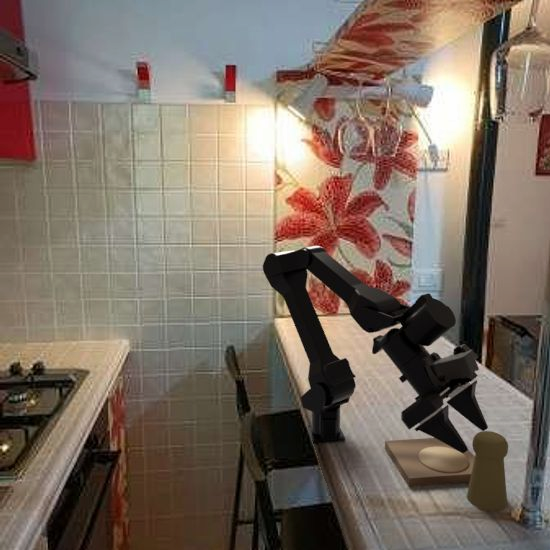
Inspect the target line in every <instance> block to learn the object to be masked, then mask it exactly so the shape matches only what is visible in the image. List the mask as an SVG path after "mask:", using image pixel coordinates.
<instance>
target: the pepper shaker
mask: <svg viewBox="0 0 550 550" xmlns="http://www.w3.org/2000/svg"><path fill="white" fill-rule="evenodd" d="M471 445H472V449H473V452H474V453H475V455H474V456H475V459H474V464H473V469H472V473H471V478H470V482H468V483H469V484H468V489H467V492H466V499H467V501H468V502H469V503H470V504H471V505H472V506H474V507H475V508H478V509H481V510H485V511H490V512H497V511H502V510H504V509H505V508H507V506H508V498H507V497H508V496H507V485H506V484H507V483H506V481H507V480H506V470H505V460H504V458H505V457H507V455H508V452H509V444H508V441H507V439H506V438H505V437H504V436H503V435H501V434H500V433H498V432H494V431H490V430H489V431H487V430H484V431H482V430H481V431H480V432H477V433H476V434H474V436H473V439H472V444H471Z"/></svg>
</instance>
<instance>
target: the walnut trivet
mask: <svg viewBox="0 0 550 550" xmlns="http://www.w3.org/2000/svg"><path fill="white" fill-rule="evenodd" d="M384 449H385V451H386V452H387V454H388V456H389V457H390V459H391V461H392V462H393V464H394V465H395V467H396V469H397V470H398V472H399V473H400V475H401V477H402V478H403V480H404V482H405V483H406V484H407V486H408V487H411V488H412V487H423V486H435V485H437V486H438V485H449V484H464V483H470V478H471V473H472V469H473V464H474V459H475V455H474V454H473V452H471V451H470V450H469V449H468V450H467V451H466V452H465V453H461V452H459V451H458V450H456V449H454V448H452V447H450V446H449V445H447V444H445V443H443V442H442V441H440V440H438V439H436V438H434V437H426V438H425V437H424V438H413V439H412V438H411V439H410V438H409V439H408V438H407V439H395V440H393V439H392V440H385V441H384Z"/></svg>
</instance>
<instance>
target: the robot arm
mask: <svg viewBox="0 0 550 550" xmlns="http://www.w3.org/2000/svg"><path fill="white" fill-rule="evenodd" d="M262 271H263V274H264V276H265V278H266V279H267V280H266V281H268V283H269V285H270V287H271V288H272V289H273V290H275V291H276V292H277V293H278V294H279V295H281V296H282V298H283V299H284V302H285V305H286V308H287V309H288V312H289V314H290V316H291V319H292V322H293V324H294V326H295V329H296V331H297V334H298V337H299V338H300V339H299V340H300V342H301V344H302V347H303V348H304V352H305V354H306V357H307V359H308V362H309V368H308V376H307V380H308V384H309V387H310V388H309V389H308V390H307V391H306V392H305V393H303V394H302V395H301V397H300V402H301V404H302V405H301V406H302V408H303V409H305V410H307V411H310V412H311V415H310V416H311V424H309V425H307V427H306V428H307V431H308V433H309V436H310V439H311V442H313V443H323V442H325V443H326V442H337V441H338V442H339V441H346V436H345V434H344V433H343V431H342V428H341V406H342V405H345V404H347V403H349V402H350V399H351V397H352V396H353V395H354V393H355V388H356V382H355V378H356V375H355V373H354V372H353V370H352V369H351V366H350V362H349V359H348V358H346V357H344V358H341V359H340V358H339V357H338V356H337V355H336V354H334V352H333V350H332V348H331V347H332V346H331V344H330V342H329V339H328V338H327V336H326V332H325V331H324V328H323V325H322V323H321V321H320V318H319V317H318V313H317V311H316V309H315V306H314V304H313V302H312V299H311V296H310V294H309V292H308V289H307V282H308V276H309V275H308V272H309V273H310V274H312V275H313V276H314V277H315V278H317V279H318V280H319V281H320V282H321V283H322V284H323V285H324V286H326V287H327V288H328V289H329V290H330V291H331V292H333V293H334V294H335V295H336V296H337V297H338V298H340V299H341V301H343V302H344V303H345V304H346V305H347V308H348V310H349V314H350V316H351V317H352V319H353V320H354V322H356V324H357V325H358V326H359V327H360V328H361V329H362V330H363V331H364V332H366V333H378V332H380V331H384V330H387V329H389V330H388V331H387V332H385V334H384V335H381V334H379V335H376V336H375V337H373V339H372V341H373V343H372V349H371V353H372V355H376V354H379V353H380V352H381V351H383V352H384V353H385V354H386V356H387V357H388V358H389V359H390V361H392V363H393V364H394V366H395V367H396V369H397V370H398V371H399V372H400V373H401V376H400V377H398V379H399V381H400V382H401V383H402V384H403V383H405V382H406V381H407V382H408V384H409V385H410V387H412V389H413V390H414V391H415V393H416V394H417V396H416V397H415V398H414V400H415V401H414V402H413V403H411V404H410V405H408V407H406V408H404V409H403V410H401V416H400V417H401V418H400V419H401V421H402V423H403V424H404V426H405V427H406V428H407V430H408V431H409V430H411V429H413V428H414V427H415V426H416V427H415V428H414V431H416V432H418V431H420V432H421V433H423V434H426V435H428V436H430V437H431V438H436V439H438V440H440V441H442V442H443V443H445V444H447V445H449V446H450V447H452V448H454V449H456V450H458V451H459V452H461V453H465V452H466V451H467V450H469V447H468V446H467V444H466V442H465V441H464V440H463V438H462V435H461V434H460V433H459V432H458V430H457V428H456V427H455V426H454V424H453V423H452V421H451V420H450V417H449V415H450V413H449V406H450V407H452V408H453V409H454V410H455V411H457V413H458V414H460V415H461V416H462V417H464V418H465V419H466V420H467V421H469V422H470V423H471V424H472V425H474V426H475V427H477V428H478V429H479V430H481V432H482V431H487V429H489V427H488V426H489V425H488V424H487V421H486V419H485V416H484V414H483V412H482V410H481V407H480V405H479V402H478V400H477V397H476V386H477V384H478V380H477V379H476V378H477V377H479V375H478V374H477V373H476V372H478V371H479V370H480V367H479V365H478V363H477V361H476V359H478V358H479V356H478V354H477V353H476V352H475V351H474V349H473V348H472V349H471V348H470V347H468V345H467V344H466V343H464V344H460V345H457V346H456V347H454V348H453V353H452V354H449V355H448V356H445V357H441V356H440V354H439V353H438V352H435V351H433V352H431V353H430V352H429V351H428V350H427V349H426V348H425V347H429V346H431V345H433V344H434V343H435V342H437V340H439V339H440V338H441V337H442V336H444V335H445V334H446V333H447V332H448V331H450V330H451V329H453V328H454V327H455V325H456V323H457V320H456V316H455V313H454V312H453V310H452V308H450V306H449V305H447V304H445V303H444V302H442V301H441V300H440V299H437V298H434V297H433V296H432V294H431V293H429V292H428V293H425V294H424V293H423V294H421V295H420V296H419V297H418V298H417V299H416V300H415V302H414V303H413V304H412V305H411V306H410V305H406V304H404V303H401V302H400V301H399V300H398V299H397V298H396V297H395V296H394V295H392V294H389V293H387V292H386V291H385V290H382V289H380V288H377V287H373V286H370V285H367V284H366V283H364V282H363V281H362V280H361V279H359V278H358V277H357V276H356V275H354V274H353V273H352V272H351V271H350V270H348V269H347V268H346V267H344V266H343V265H342V264H341V263H340V262H338V261H337V259H334V257H332V256H331V255H330V254H328V252H327V251H326V249H325V248H324V247H322V246H320V245H312V246H304V247H302V248H300V249H297V250H285V251H278V252H277V251H276V252H271V253H268V254H267V255H266V256H265V258H264V261H263V264H262ZM397 325H401V326H400V328H398V327H395V326H397ZM390 328H391V329H390ZM474 379H476V380H475V381H474ZM448 398H449V399H448ZM444 399H448V400H447V401H446V402H445V403H446V405H445V403H444ZM444 405H445V406H444ZM443 406H444V407H443Z"/></svg>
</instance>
